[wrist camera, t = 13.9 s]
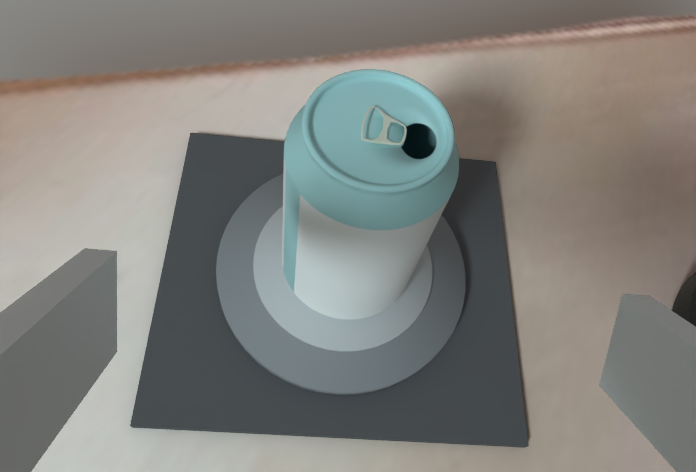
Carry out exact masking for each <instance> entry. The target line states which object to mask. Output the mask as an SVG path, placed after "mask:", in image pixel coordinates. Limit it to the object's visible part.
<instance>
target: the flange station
mask: <svg viewBox="0 0 696 472" xmlns="http://www.w3.org/2000/svg"><path fill="white" fill-rule="evenodd" d="M284 143H285V142H283V141H273V140H262V139H252V138H241V137H231V136H220V135H210V134H199V133H190V138H189V143H188V148H187V153H186V157H185V162H184V167H183V172H182V177H181V182H180V187H179V191H178V196H177V201H176V206H175V211H174V216H173V221H172V225H171V230H170V235H169V240H168V245H167V250H166V255H165V259H164V264H163V269H162V274H161V279H160V284H159V289H158V293H157V298H156V303H155V308H154V313H153V318H152V323H151V327H150V332H149V337H148V342H147V347H146V352H145V357H144V361H143V366H142V371H141V376H140V381H139V386H138V391H137V395H136V400H135V405H134V410H133V415H132V420H131V425H130V426H131V427H134V428H154V429H173V430H193V431H213V432H232V433H252V434H271V435H291V436H311V437H330V438H350V439H369V440H389V441H409V442H428V443H448V444H467V445H487V446H507V447H527V446H528V437H527V428H526V420H525V411H524V403H523V394H522V385H521V377H520V368H519V359H518V351H517V342H516V334H515V325H514V316H513V308H512V299H511V291H510V282H509V273H508V265H507V256H506V248H505V239H504V230H503V222H502V213H501V205H500V196H499V187H498V179H497V170H496V162H493V161H482V160H472V159H461V158H459V173H458V179H457V183H456V185H455V188H454V190H453V192H452V194H451V196H450V198H449V200H448V202H447V204H446V206H445V208H444V210H443V212H442V214H441V216H440V218H439V220H438V222H437V224H436V226H435V228H434V231H433V233H432V235H431V237H430V239H429V241H428V243H427V245H426V247H425V249H424V251H423V253H422V255H421V257H420V259H419V261H418V263H417V265H416V267H415V269H414V271H413V273H412V275H411V277H410V279H409V281H408V283H407V285H406V287H405V289H404V291H403V292H402V294H401V295H400V297H399V298H398V299H397V300H396V301H395V302H394V303H393V304H392V305H391V306H389V307H388V308H387V309H385V310H384V311H382V312H380V313H378V314H375V315H373V316H370V317H366V318H361V319H352V320H349V319H338V318H333V317H329V316H326V315H323V314H321V313H319V312H317V311H315V310H313V309H311V308H310V307H308V306H307V305H306V304H305V303H303V302H302V301H301V300H300V299H299V298H298V297H297V296H296V295H295V293H294V292H293V291H292V289H291V288H290V286H289V284H288V282H287V280H286V277H285V274H284V271H283V266H282V226H283V170H284Z"/></svg>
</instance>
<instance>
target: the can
mask: <svg viewBox="0 0 696 472" xmlns="http://www.w3.org/2000/svg"><path fill="white" fill-rule="evenodd" d="M458 173H459V156H458V150H457V146H456V143H455V134H454V127H453V123H452V120H451V117H450V115H449V113H448V111H447V109H446V108H445V106H444V105H443V104H442V102H441V101H440V100H439V99H438V98H437V97H436V95H434V94H433V93H432V92H431V91H430V90H429V89H427V88H426V87H425V86H423V85H422V84H420V83H418V82H417V81H415V80H413V79H411V78H409V77H406V76H404V75H401V74H398V73H394V72H390V71H384V70H375V69H364V70H355V71H350V72H346V73H343V74H340V75H337V76H335V77H333V78H331V79H329V80H327V81H326V82H324V83H323V84H322V85H320V86H319V87H318V88H317V89H316V90H315V91H314V92H313V94H312V95H311V96H310V98H309V99H308V101H307V103H306V105H304V106H303V107H302V109H301V110H300V111H299V112H298V113H297V115H296V116H295V117H294V119H293V121H292V122H291V124H290V126H289V129H288V131H287V134H286V137H285V143H284V170H283V226H282V266H283V271H284V274H285V277H286V280H287V282H288V284H289V286H290V288H291V289H292V291H293V292H294V293H295V295H296V296H297V297H298V298H299V299H300V300H301V301H302V302H303V303H305V304H306V305H307V306H308V307H310V308H311V309H313V310H315V311H317V312H319V313H321V314H323V315H326V316H329V317H333V318H338V319H349V320H352V319H361V318H366V317H370V316H373V315H375V314H378V313H380V312H382V311H384V310H385V309H387V308H388V307H389V306H391V305H392V304H393V303H394V302H395V301H396V300H397V299H398V298H399V297H400V295H401V294H402V292H403V291H404V289H405V287H406V285H407V283H408V281H409V279H410V277H411V275H412V273H413V271H414V269H415V267H416V265H417V263H418V261H419V259H420V257H421V255H422V253H423V251H424V249H425V247H426V245H427V243H428V241H429V239H430V237H431V235H432V233H433V231H434V228H435V226H436V224H437V222H438V220H439V218H440V216H441V214H442V212H443V210H444V208H445V206H446V204H447V202H448V200H449V198H450V196H451V194H452V192H453V190H454V188H455V185H456V183H457V179H458Z"/></svg>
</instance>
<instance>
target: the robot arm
mask: <svg viewBox="0 0 696 472" xmlns="http://www.w3.org/2000/svg"><path fill="white" fill-rule="evenodd" d="M116 352H117V251H110V250H98V249H86V248H85V249H84V250H82V251H81V252H80V253H78V254H77V255H76V256H74V257H73V258H72V259H70V260H69V261H68V262H66V263H65V264H64V265H62V266H61V267H60V268H59V269H57V270H56V271H55V272H53V273H52V274H51V275H49V276H48V277H47V278H45V279H44V280H43V281H41V282H40V283H39V284H37V285H36V286H35V287H34V288H32V289H31V290H30V291H28V292H27V293H26V294H24V295H23V296H22V297H20V298H19V299H18V300H16V301H15V302H14V303H12V304H11V305H10V306H8V307H7V308H6V309H5V310H3V311H2V312H1V313H0V472H31V471H32V469H33V468H34V467H35V465H36V464H37V463H38V461H39V460H40V458H41V457H42V456H43V454H44V453H45V451H46V450H47V449H48V447H49V446H50V444H51V443H52V442H53V440H54V439H55V437H56V436H57V435H58V433H59V432H60V430H61V429H62V428H63V426H64V425H65V423H66V422H67V421H68V419H69V418H70V416H71V415H72V414H73V412H74V411H75V409H76V408H77V407H78V405H79V404H80V402H81V401H82V400H83V398H84V397H85V395H86V394H87V393H88V391H89V390H90V389H91V387H92V386H93V384H94V383H95V382H96V380H97V379H98V377H99V376H100V375H101V373H102V372H103V370H104V369H105V368H106V366H107V365H108V363H109V362H110V361H111V359H112V358H113V356H114V355H115V354H116ZM599 386H600V387H601V388H602V389H603V390H604V392H605V393H606V394H607V395H608V396H609V397H610V398H611V399H612V400H613V402H614V403H615V404H616V405H617V406H618V407H619V408H620V409H621V410H622V412H623V413H624V414H625V415H626V416H627V417H628V418H629V419H630V420H631V422H632V423H633V424H634V425H635V426H636V427H637V428H638V429H639V430H640V432H641V433H642V434H643V435H644V436H645V437H646V438H647V439H648V440H649V442H650V443H651V444H652V445H653V446H654V447H655V448H656V449H657V450H658V452H659V453H660V454H661V455H662V456H663V457H664V458H665V459H666V460H667V462H668V463H669V464H670V465H671V466H672V467H673V468H674V469H675V470H676V472H696V273H695V274H694V275H693V276H692V277H691V278H690V279H689V280H688V281H687V282H686V283H685V285H684V286H683V288H682V289H681V291H680V293H679V295H678V297H677V299H676V302H675V304H674V308H673V311H671V310H670V309H668V308H667V307H665V306H664V305H663V304H661V303H660V302H658V301H657V300H655V299H654V298H652V297H651V296H645V295H633V294H622V297H621V301H620V305H619V309H618V313H617V317H616V321H615V325H614V329H613V333H612V337H611V341H610V345H609V349H608V353H607V356H606V360H605V364H604V368H603V372H602V376H601V380H600V384H599Z"/></svg>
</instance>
